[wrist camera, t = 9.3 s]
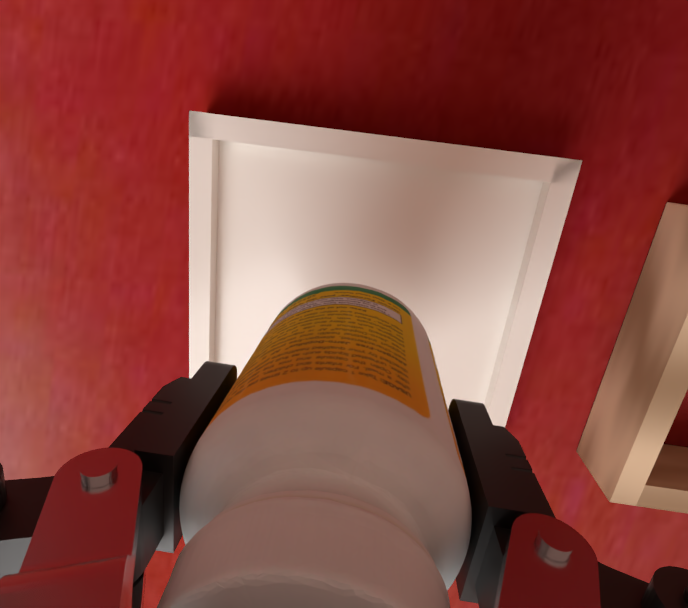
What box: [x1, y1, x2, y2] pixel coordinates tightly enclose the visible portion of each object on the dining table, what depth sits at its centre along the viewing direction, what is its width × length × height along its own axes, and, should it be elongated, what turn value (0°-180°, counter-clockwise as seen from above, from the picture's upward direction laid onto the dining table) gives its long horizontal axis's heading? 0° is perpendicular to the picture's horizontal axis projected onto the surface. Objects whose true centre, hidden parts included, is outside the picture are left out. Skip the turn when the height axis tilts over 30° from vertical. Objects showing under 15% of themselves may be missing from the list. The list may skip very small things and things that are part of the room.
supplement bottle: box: [157, 283, 472, 608], centre depth 10 cm, size 5×5×10 cm
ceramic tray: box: [189, 111, 582, 428], centre depth 17 cm, size 13×13×2 cm
